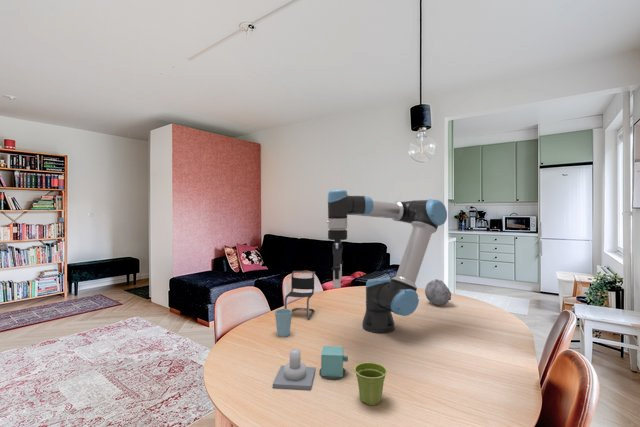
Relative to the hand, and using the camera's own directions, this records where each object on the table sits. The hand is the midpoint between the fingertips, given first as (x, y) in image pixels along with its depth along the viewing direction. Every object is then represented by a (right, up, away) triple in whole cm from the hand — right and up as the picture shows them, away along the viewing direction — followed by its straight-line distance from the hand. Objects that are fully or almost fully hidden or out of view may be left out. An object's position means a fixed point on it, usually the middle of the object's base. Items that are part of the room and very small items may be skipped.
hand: (337, 283), depth 124 cm
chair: (-17, -27, +45) cm, 55 cm away
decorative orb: (+63, -27, +63) cm, 93 cm away
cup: (-23, -27, +17) cm, 40 cm away
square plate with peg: (-15, -27, -21) cm, 37 cm away
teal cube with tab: (-3, -26, -17) cm, 31 cm away
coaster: (-3, -27, -17) cm, 32 cm away
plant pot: (+8, -27, -32) cm, 42 cm away
